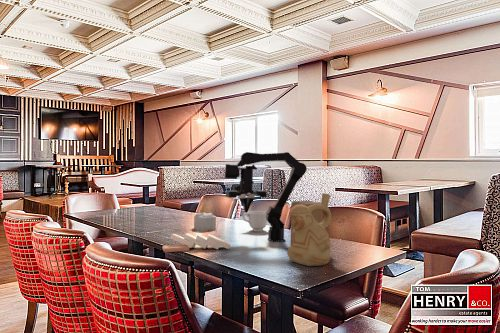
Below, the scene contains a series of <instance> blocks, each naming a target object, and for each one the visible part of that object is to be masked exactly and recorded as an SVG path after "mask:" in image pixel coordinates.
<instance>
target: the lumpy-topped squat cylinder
mask: <svg viewBox="0 0 500 333" xmlns="http://www.w3.org/2000/svg"><path fill="white" fill-rule="evenodd" d="M216 226H217V216H216V215H214V214H213V212H209V213H208V212H207V213H206V212H205V211H204V212H197V213H196V214H194V216H193V229H194V230H196V231H199V230H200V232H208V230H209V231H215V230H216V229H217V228H216Z"/></svg>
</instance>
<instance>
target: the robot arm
mask: <svg viewBox="0 0 500 333" xmlns="http://www.w3.org/2000/svg"><path fill="white" fill-rule="evenodd" d="M277 161H278V162H279V161H282V162H283V161H284V162H285V163H286V164H287V165H288V166H289V167H290V168H291V169H290V172H289V178H288V179H287V181H286V183H285V185H284V187H283V189H282V191H281V193H280V195H279V196H278V198H277V199H276V202H275V204H274V205H273V206H271V205H269V206H268V210H266V220H267V223H268V224H269V225H270V226H269V227H268V228H269V229H268V230H267V231H268V234H267V236H268V237H267V240H269V241H271V242H286V239H285V223H284V222H283V221H282V220H281V217H282V213H283V209H284V207H285V205H286V203H287V202H288V200H289V198H290V196H291V193H292V192H293V191H294V188H295V187H296V185H297V183H298V182H299V181H300V180H301V179H302V178H303V176H304V175H305V174H306V173H307V169H308V167H307V165H306V164H305V163H304V162H300V161H299V160H298V159H297V158H295V157H294V156H293V155H291V153H290V152H285V151H284V152H277V153H276V152H275V153H273V152H272V153H257V152H256V153H255V152H250V151H249V152H248V151H246V152H244V153H242V154H241V156H240V160H239V162H238V163H237V164H230V163H229V164H228V163H227V164H225V169H224V170H225V171H224V179H225V180H226V179H227V180H229V179H231V180H237V179H238V178H239V177H240V181H239V184H238V183H233V184H232V190H227V191H226V192H225V197H226V198H233V199H234V198H235V199H236V198H237V199H238V200H240V202H241V205H242V207H243V211H244V213H247V212H248V211H250V210H249V209H250V207H251V205H252V203H253V202H254V200H256V197H261V198H267V197H268V193H267V191H266V190H255V191H254V189H253V188H254V187H253V185H254V179H253V178H254V170H255V171H256V170H258V168H257V167H256V165H255V164H256V163H257V164H258V163H261V162H277ZM243 166H245V168H243Z"/></svg>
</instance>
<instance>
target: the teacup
mask: <svg viewBox="0 0 500 333" xmlns="http://www.w3.org/2000/svg"><path fill="white" fill-rule="evenodd" d="M266 212H267V210H266V211H265V210H248V212H247V213H245V212H244V213H243V214H242V220H243V221H245V222H247V223H248V224H249V226H250V228H252V231H253V232H263V231H264V229H265V228H266V227H267V223H268V221H267V220H266ZM245 216H246V217H247V218H248V220H247V219H246V217H245Z"/></svg>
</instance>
